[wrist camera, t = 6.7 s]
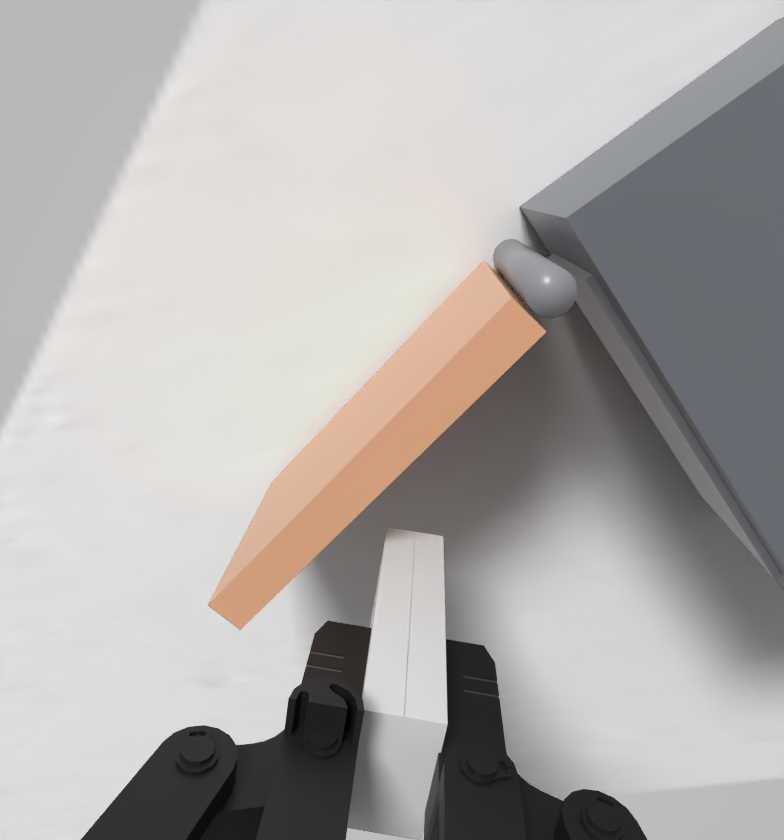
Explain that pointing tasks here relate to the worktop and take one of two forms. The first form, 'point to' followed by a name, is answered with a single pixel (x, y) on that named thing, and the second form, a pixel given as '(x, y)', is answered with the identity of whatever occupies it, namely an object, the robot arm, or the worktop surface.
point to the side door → (393, 421)
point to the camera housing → (694, 278)
